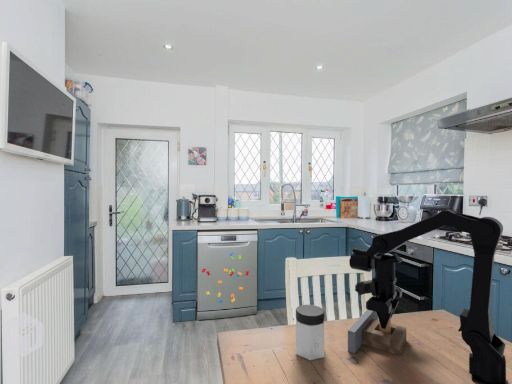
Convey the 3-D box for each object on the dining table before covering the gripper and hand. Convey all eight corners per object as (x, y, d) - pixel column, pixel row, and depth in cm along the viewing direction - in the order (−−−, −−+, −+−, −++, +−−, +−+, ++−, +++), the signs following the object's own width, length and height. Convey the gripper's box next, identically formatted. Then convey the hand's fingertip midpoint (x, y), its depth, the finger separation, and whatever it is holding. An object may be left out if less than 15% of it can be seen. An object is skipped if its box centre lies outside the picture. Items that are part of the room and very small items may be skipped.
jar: (303, 362, 75) (303, 318, 75) (289, 347, 82) (289, 306, 83) (331, 356, 78) (331, 313, 78) (316, 342, 85) (315, 302, 86)
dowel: (391, 336, 86) (391, 314, 86) (389, 341, 83) (389, 317, 83) (380, 333, 88) (380, 311, 88) (378, 337, 85) (377, 314, 85)
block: (406, 340, 86) (406, 327, 86) (399, 355, 78) (399, 341, 78) (372, 330, 92) (372, 318, 92) (363, 343, 85) (363, 330, 85)
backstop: (377, 323, 98) (377, 306, 98) (354, 353, 79) (354, 332, 79) (371, 321, 99) (371, 304, 99) (347, 351, 80) (347, 330, 80)
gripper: (367, 264, 98) (367, 309, 98) (348, 277, 83) (348, 329, 83) (402, 270, 91) (402, 317, 91) (388, 284, 76) (388, 341, 76)
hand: (385, 325), depth 85 cm, fingers open, 4 cm apart
